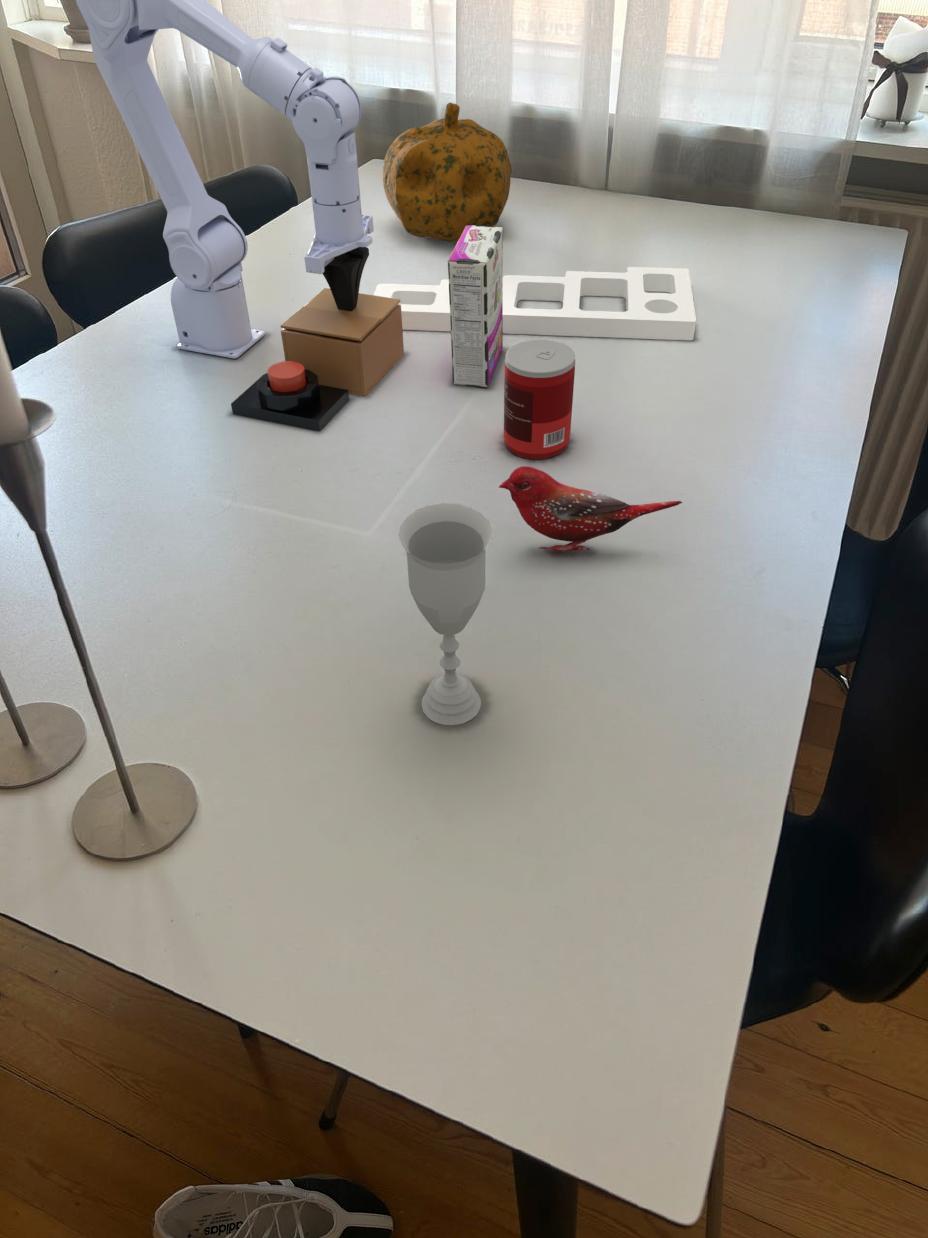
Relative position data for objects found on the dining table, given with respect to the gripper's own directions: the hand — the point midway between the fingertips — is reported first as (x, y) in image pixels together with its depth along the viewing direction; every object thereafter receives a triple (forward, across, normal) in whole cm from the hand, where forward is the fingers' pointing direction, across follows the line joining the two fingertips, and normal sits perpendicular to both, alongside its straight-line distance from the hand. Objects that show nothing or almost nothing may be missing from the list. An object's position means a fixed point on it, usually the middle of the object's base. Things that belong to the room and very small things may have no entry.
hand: (347, 308), depth 123 cm
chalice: (+8, -52, -35) cm, 64 cm away
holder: (+8, +24, -17) cm, 31 cm away
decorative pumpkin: (+8, +48, +6) cm, 49 cm away
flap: (0, +2, 0) cm, 2 cm away
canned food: (+8, -10, -29) cm, 32 cm away
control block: (+8, -13, +2) cm, 15 cm away
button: (+4, -13, +2) cm, 14 cm away
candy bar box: (+8, +4, -16) cm, 18 cm away
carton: (+8, -2, 0) cm, 8 cm away
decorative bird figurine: (+8, -28, -40) cm, 50 cm away
